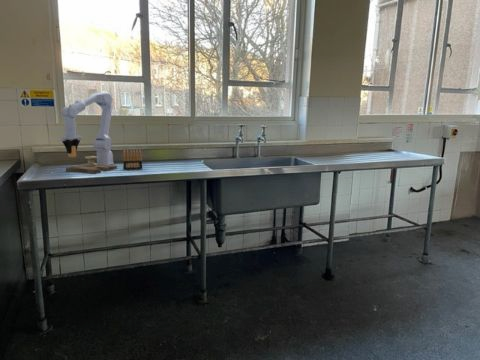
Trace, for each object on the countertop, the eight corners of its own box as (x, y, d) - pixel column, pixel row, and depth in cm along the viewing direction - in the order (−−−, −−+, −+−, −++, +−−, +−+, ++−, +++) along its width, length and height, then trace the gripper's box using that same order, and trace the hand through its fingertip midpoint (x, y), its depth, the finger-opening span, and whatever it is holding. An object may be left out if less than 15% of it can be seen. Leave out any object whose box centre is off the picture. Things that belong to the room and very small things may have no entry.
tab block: (72, 156, 205) (71, 145, 204) (76, 156, 204) (75, 145, 203) (68, 156, 202) (67, 146, 201) (72, 157, 201) (71, 146, 200)
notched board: (89, 166, 216) (89, 163, 216) (116, 168, 210) (116, 165, 210) (66, 170, 200) (65, 167, 199) (95, 173, 193) (95, 170, 193)
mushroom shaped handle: (90, 164, 212) (90, 155, 211) (99, 164, 210) (98, 156, 209) (83, 165, 206) (82, 157, 205) (91, 166, 204) (91, 157, 203)
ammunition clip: (142, 168, 212) (141, 148, 210) (142, 169, 211) (141, 148, 208) (123, 169, 209) (122, 148, 207) (123, 169, 207) (122, 149, 205)
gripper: (74, 128, 208) (76, 151, 211) (54, 129, 195) (56, 153, 197) (84, 128, 206) (85, 152, 208) (64, 129, 192) (66, 154, 195)
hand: (71, 153), depth 203 cm, fingers closed on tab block, 3 cm apart
